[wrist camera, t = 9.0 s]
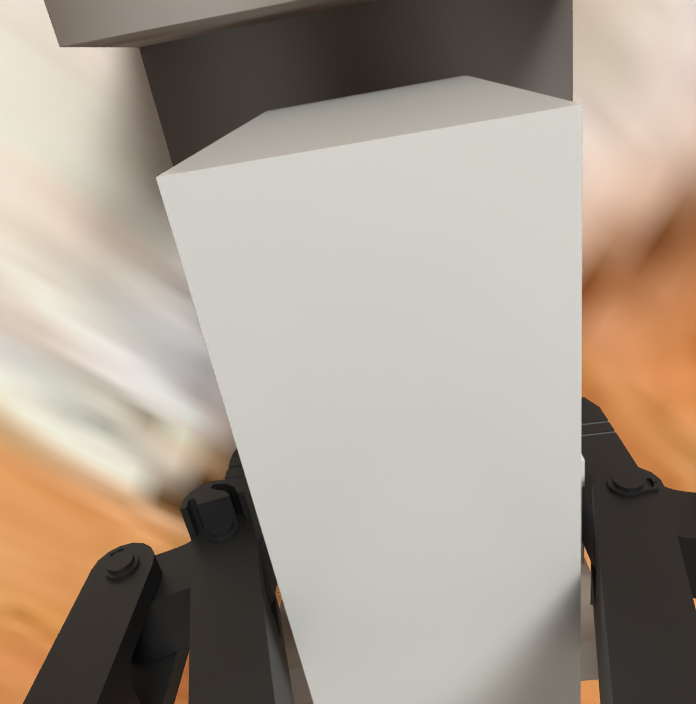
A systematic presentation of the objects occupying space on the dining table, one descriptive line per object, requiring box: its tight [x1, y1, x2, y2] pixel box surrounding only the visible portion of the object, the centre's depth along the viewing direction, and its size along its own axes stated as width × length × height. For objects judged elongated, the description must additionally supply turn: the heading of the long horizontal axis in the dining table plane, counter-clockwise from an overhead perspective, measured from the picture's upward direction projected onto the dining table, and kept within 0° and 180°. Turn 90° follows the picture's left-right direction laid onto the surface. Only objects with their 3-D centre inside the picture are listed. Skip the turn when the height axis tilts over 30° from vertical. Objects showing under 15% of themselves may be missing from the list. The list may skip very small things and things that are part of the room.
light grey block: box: [156, 75, 582, 704], centre depth 15 cm, size 5×16×9 cm, turn 9°
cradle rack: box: [44, 0, 599, 704], centre depth 19 cm, size 12×24×6 cm, turn 10°
